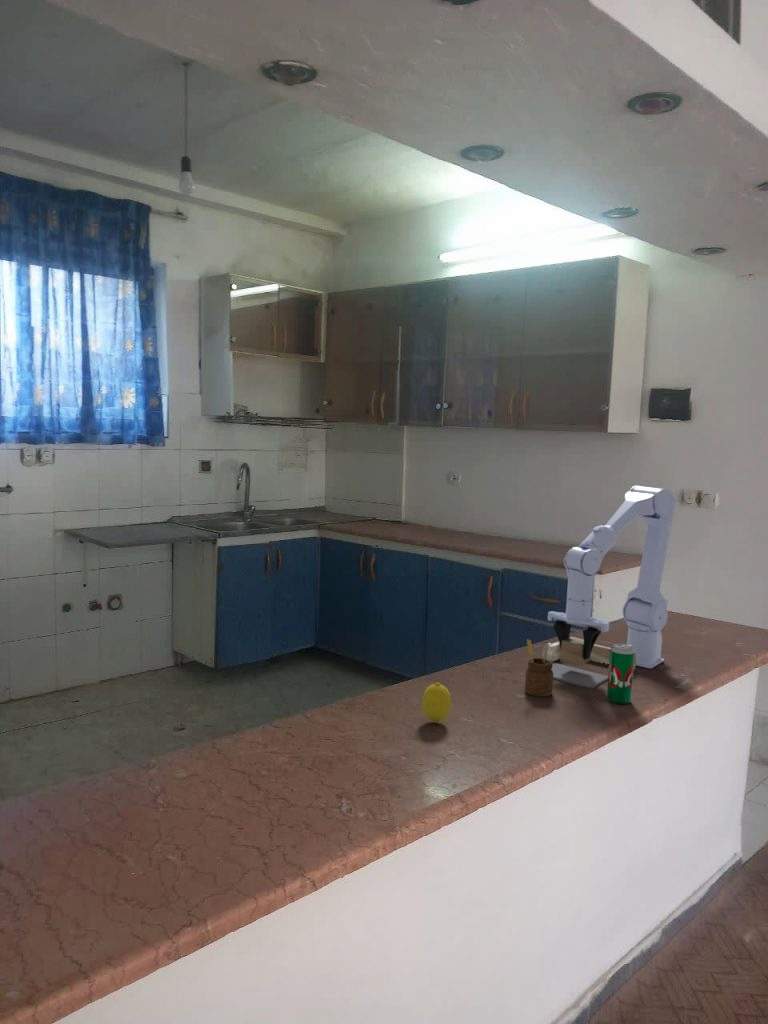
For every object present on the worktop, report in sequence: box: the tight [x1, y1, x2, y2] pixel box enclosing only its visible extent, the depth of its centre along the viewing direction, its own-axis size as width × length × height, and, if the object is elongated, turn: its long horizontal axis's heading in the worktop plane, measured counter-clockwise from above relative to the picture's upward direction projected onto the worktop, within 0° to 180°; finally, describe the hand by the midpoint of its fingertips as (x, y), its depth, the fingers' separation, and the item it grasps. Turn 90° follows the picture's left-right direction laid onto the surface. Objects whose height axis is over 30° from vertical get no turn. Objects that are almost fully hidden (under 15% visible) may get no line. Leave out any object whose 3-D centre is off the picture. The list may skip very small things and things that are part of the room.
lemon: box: [421, 682, 452, 724], centre depth 149 cm, size 6×6×8 cm
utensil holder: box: [524, 638, 554, 698], centre depth 169 cm, size 6×6×12 cm
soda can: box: [606, 643, 635, 705], centre depth 165 cm, size 5×5×12 cm
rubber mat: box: [552, 662, 608, 690], centre depth 182 cm, size 10×15×1 cm, turn 51°
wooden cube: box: [559, 636, 590, 667], centre depth 182 cm, size 5×5×5 cm
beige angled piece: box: [546, 640, 637, 671], centre depth 190 cm, size 10×18×4 cm, turn 51°
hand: (575, 655), depth 183 cm, fingers closed on wooden cube, 5 cm apart
